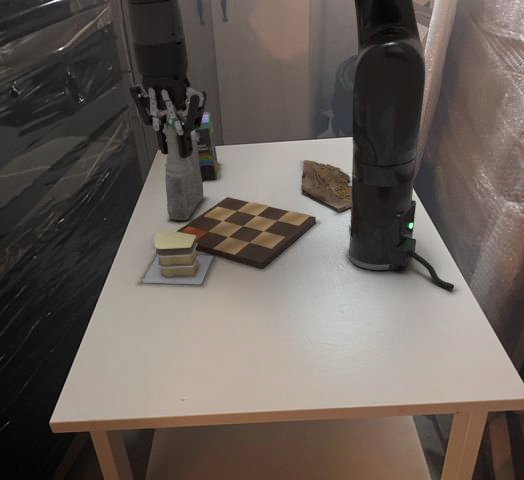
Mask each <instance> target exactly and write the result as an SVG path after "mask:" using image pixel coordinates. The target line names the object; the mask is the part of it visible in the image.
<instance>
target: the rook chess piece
mask: <svg viewBox="0 0 524 480" xmlns="http://www.w3.org/2000/svg"><path fill="white" fill-rule="evenodd" d="M166 124H167V125H166ZM163 133H164V134H165V135H166V140H165V141H166V142H167V145H168V154H167V155H168V158H167V157H166V162H165V165H164V167H165V172H166V173H167V174H168V175H169V176H170V177H173V178H181V177H185V176H188V175H189V174H191V172H192V170H193V168H192V167H191V164H192V163H191V161H190V159H188V157H187V158H181V157H180V154H179V147H178V141H177V135H178V133H177V131H176V127H175V124H174V121H172V124H170V122H166V123H164V129H163ZM166 169H167V170H166Z"/></svg>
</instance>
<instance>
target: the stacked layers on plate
mask: <svg viewBox="0 0 524 480" xmlns="http://www.w3.org/2000/svg"><path fill="white" fill-rule="evenodd" d="M195 237H196V235H191V234H186V233H180V232H176V231H175V230H163V231H161V232H159V233H156V234H155V235H154V243H153V244H154V245H153V246H154V248H155V254H156V257H155V259H154V261H153V262H152V264H151V266H150V268H149V269H148V271H147V273H146V274H145V276H144V278H143V279H142V281H141V283H142V284H145V283H146V284H175V285H176V284H177V285H202V283H203V281H204V279H205V276H206V274H207V272H208V270H209V267H210V265H211V262H212V260H213V258H214V255H200V253H199V252H197V250H196V246H197V242H193V241H194V239H195Z"/></svg>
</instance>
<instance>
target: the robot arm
mask: <svg viewBox="0 0 524 480" xmlns="http://www.w3.org/2000/svg"><path fill="white" fill-rule="evenodd" d="M125 1H126V8H127V9H126V10H127V21H128V28H129V32H130V37H131V45H132V49H133V53H134V60H135V63H136V70H137V72H138V74H139V75H141V80H140V83H138V84H135V85H133V86H130V87H129V94H130V95H131V98H132V101H133V102H134V105H135V107H136V108H137V110H138V113H139V115H140V117H141V119H142V121H143V123H144V125H145V126H147V127H149V126H150V127H152V128H153V130H154V131H155V134H156V139H157V145H158V148H159V151H160V152H161V154H162V155H165V156H167V155H168V145H167V142H166V141H165V140H166V135H165V134H164V133H163V129H164V123H166V122H169V118H170V119H171V120H173V121H174V124H175V127H176V131H177V133H178V135H177V141H178V147H179V154H180V157H181V158H187V157H189V156H190V155H191V154H192V152H193V146H192V138H191V132H192V131H194V130H196V129H198V128H200V127H201V123H202V118H203V113H204V112H205V108H206V102H207V97H208V95H207V92H206V91H205V90H201V91H198V90H197V89H195V88H193V87H192V83H191V82H190V80H189V78H188V69H189V57H188V51H187V44H186V37H185V29H184V28H185V27H184V20H183V15H182V10H181V7H180V6H181V5H180V2H179V0H125ZM354 8H355V18H356V30H357V51H358V53H357V61H356V65H355V68H354V73H353V85H352V127H351V129H352V130H351V137H352V138H351V139H352V166H351V168H352V170H351V186H352V194H351V207H350V223H349V224H348V233H349V248H348V259H349V260H350V261H351V263H352V264H354V265H355V266H357V267H359V268H362V269H364V270H370V271H393V272H397V271H398V270H399V268H400V267H406V265H408V263H409V261H411V260H412V259H413V260H415V261H417V262H418V263H420V264H421V265H422V266H423V267H424V268H425V269H426V270H427V271H428V273H429V275H430V277H431V279H432V280H433V282H435V283H436V284H437V285H438V286H440V287H442V288H445V289H448V290H450V291H452V290H453V289H454V288H455V284H453V283H452V282H451V283H450V282H448V281H445V280H443V279H441V278H440V277H439V276H438V273H437V272H436V270H435V267H433V266H432V264H431V263H430V262H428V261H427V260H426V259H425V258H424V257H422V256H421V255H419V254H418V253H416V246H417V239H416V238H413V236H414V226H415V219H416V218H415V217H416V207H417V201H416V200H413V192H414V183H415V182H414V181H415V174H416V164H417V163H416V162H417V154H418V145H419V139H420V133H421V124H422V123H421V122H422V116H423V106H424V97H425V88H426V87H425V86H426V74H427V72H426V56H425V50H424V46H423V43H422V41H421V40H422V39H421V36H420V32H419V26H418V21H417V17H416V10H415V6H414V1H413V0H354ZM179 109H181V110H180V111H179V112H177V110H179ZM181 118H182V120H183V124H184V125H183V124H182V121H181ZM166 125H167V124H166Z"/></svg>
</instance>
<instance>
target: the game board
mask: <svg viewBox="0 0 524 480" xmlns="http://www.w3.org/2000/svg"><path fill="white" fill-rule="evenodd" d="M316 221H317V219H316V216H313V215H310V214H307V213H302V212H298V211H294V210H287V209H282V208H278V207H274V206H270V205H267V204H264V203H263V204H262V203H258V202H254V201H246V200H242V199H239V198H233V197H229V196H226V197H225V198H224V199H222V200H221V201H219V202H218V203H216V204H215V205H212V207H210V208H209V209H207V210H206V211H204V212H203V213H202V214H200V215H198V216H197V217H196V218H194V219H193V220H191V221H189V222H188V223H186V224H185V225H184V226H182V227H180V228H179V229H177V231H175V232H180V233H186V234H191V235H196V237H195V239H194V241H193V242H197V246H196V251H199V252H202V253H205V254H208V255H209V254H210V255H211V256H216V257H218V258H219V257H220V258H223V259H226V260H230V261H233V262H236V263H240V264H243V265H248V266H250V267H255V268H257V269H261V270H263V269H264V268H266V266H268V265H269V264H270V263H271V262H272V261H274V260H275V259H276V258H277V257H278V256H279V255H281V254H282V253H283V252H284V251H285V250H286V249H288V248H289V247H290V246H291V245H292V244H293V243H294V242H295V241H296V240H298V239H299V238H300V237H301V236H302V235H303V234H305V233H306V232H307V231H308V230H310V228H312V227H313V226H314V225H315V224H316Z"/></svg>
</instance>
